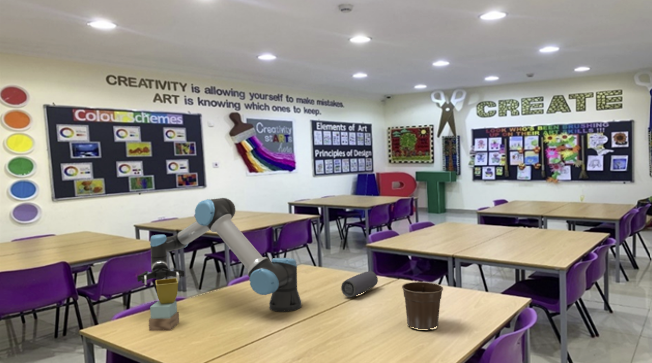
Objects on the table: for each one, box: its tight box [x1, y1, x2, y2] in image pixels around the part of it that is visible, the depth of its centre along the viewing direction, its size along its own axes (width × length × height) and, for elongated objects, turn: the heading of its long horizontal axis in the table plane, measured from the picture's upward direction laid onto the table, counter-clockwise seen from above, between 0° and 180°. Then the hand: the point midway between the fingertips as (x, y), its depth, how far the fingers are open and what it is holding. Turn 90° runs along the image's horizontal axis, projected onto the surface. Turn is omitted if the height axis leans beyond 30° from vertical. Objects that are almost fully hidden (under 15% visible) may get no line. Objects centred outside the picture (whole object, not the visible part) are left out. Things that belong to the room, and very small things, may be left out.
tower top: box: [149, 300, 178, 319], centre depth 188 cm, size 8×8×5 cm
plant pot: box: [401, 281, 444, 329], centre depth 180 cm, size 16×16×16 cm
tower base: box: [148, 311, 180, 331], centre depth 188 cm, size 9×9×5 cm
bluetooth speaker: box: [340, 270, 379, 298], centre depth 228 cm, size 23×9×10 cm, turn 144°
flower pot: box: [155, 277, 179, 304], centre depth 189 cm, size 9×9×9 cm
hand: (162, 279), depth 196 cm, fingers open, 13 cm apart
